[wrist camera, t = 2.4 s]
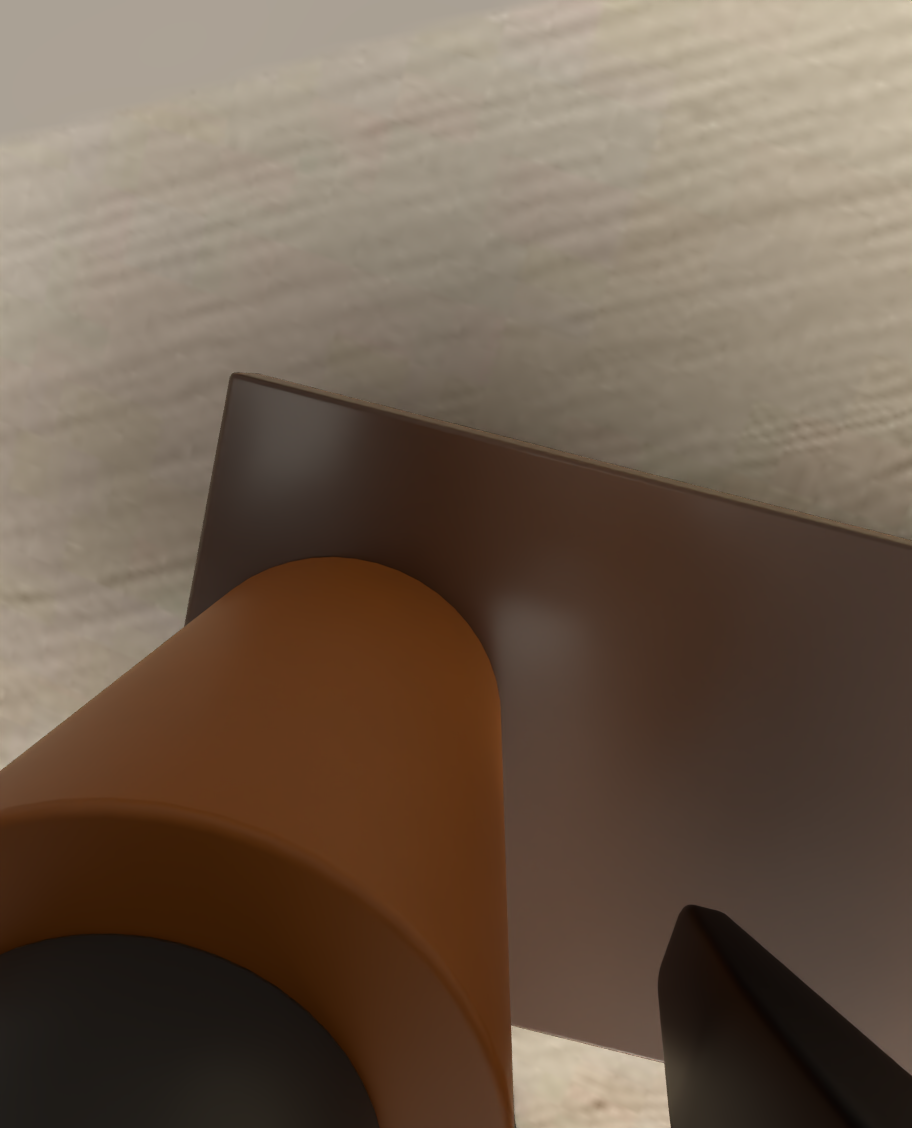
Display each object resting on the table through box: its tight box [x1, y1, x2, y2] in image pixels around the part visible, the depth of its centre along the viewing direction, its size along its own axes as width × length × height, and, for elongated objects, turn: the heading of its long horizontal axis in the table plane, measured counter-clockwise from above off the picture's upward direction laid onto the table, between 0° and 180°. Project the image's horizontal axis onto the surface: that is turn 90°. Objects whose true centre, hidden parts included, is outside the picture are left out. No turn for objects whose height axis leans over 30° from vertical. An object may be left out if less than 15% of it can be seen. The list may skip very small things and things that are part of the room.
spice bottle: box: [0, 557, 514, 1128], centre depth 8 cm, size 5×5×9 cm
